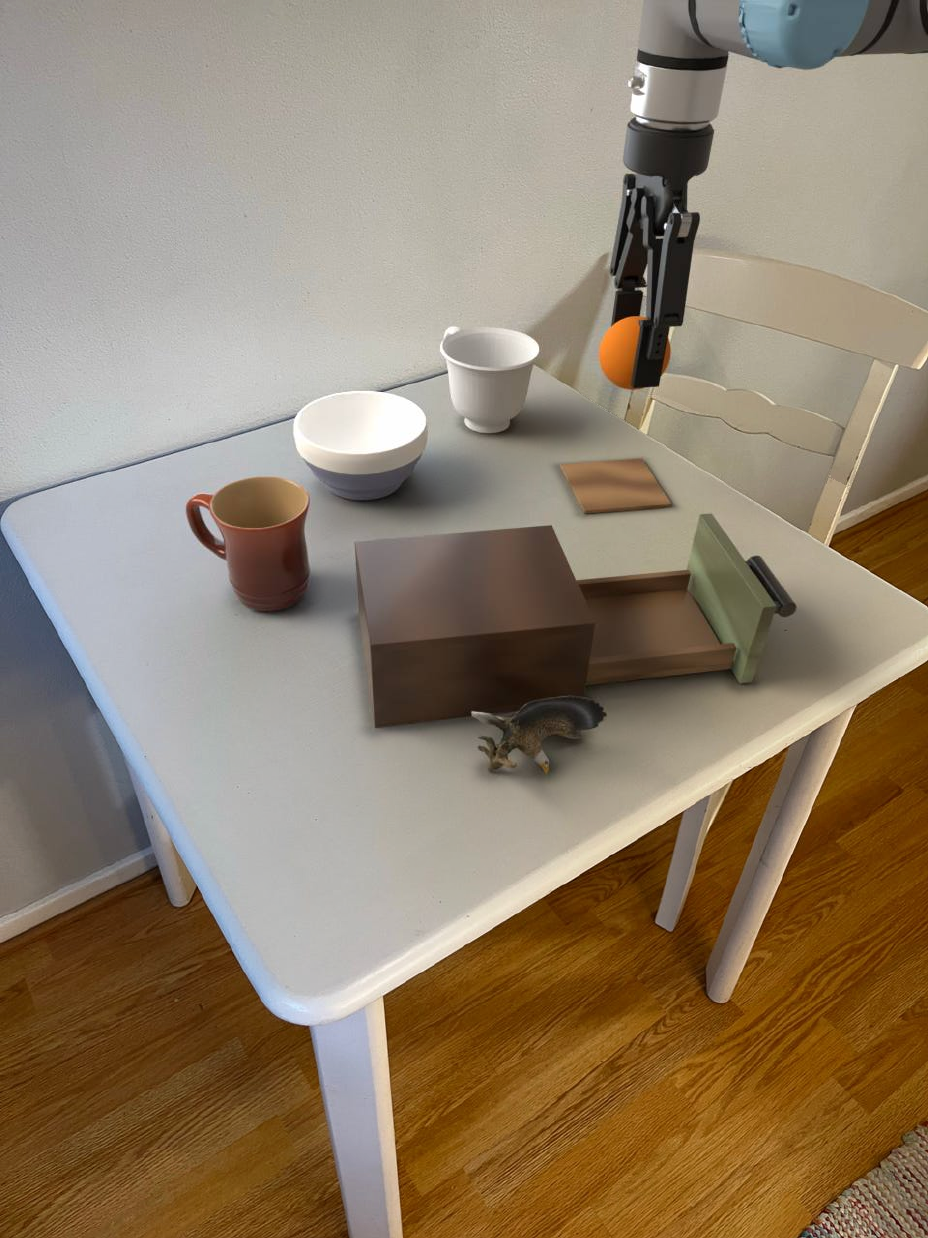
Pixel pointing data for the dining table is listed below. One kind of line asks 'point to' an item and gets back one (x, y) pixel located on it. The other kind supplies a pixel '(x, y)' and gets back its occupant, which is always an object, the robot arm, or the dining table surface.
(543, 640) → the cabinet
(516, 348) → the teacup
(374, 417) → the bowl
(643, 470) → the coaster
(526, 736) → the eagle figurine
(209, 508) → the mug
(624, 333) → the orange
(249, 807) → the dining table surface
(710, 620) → the drawer
